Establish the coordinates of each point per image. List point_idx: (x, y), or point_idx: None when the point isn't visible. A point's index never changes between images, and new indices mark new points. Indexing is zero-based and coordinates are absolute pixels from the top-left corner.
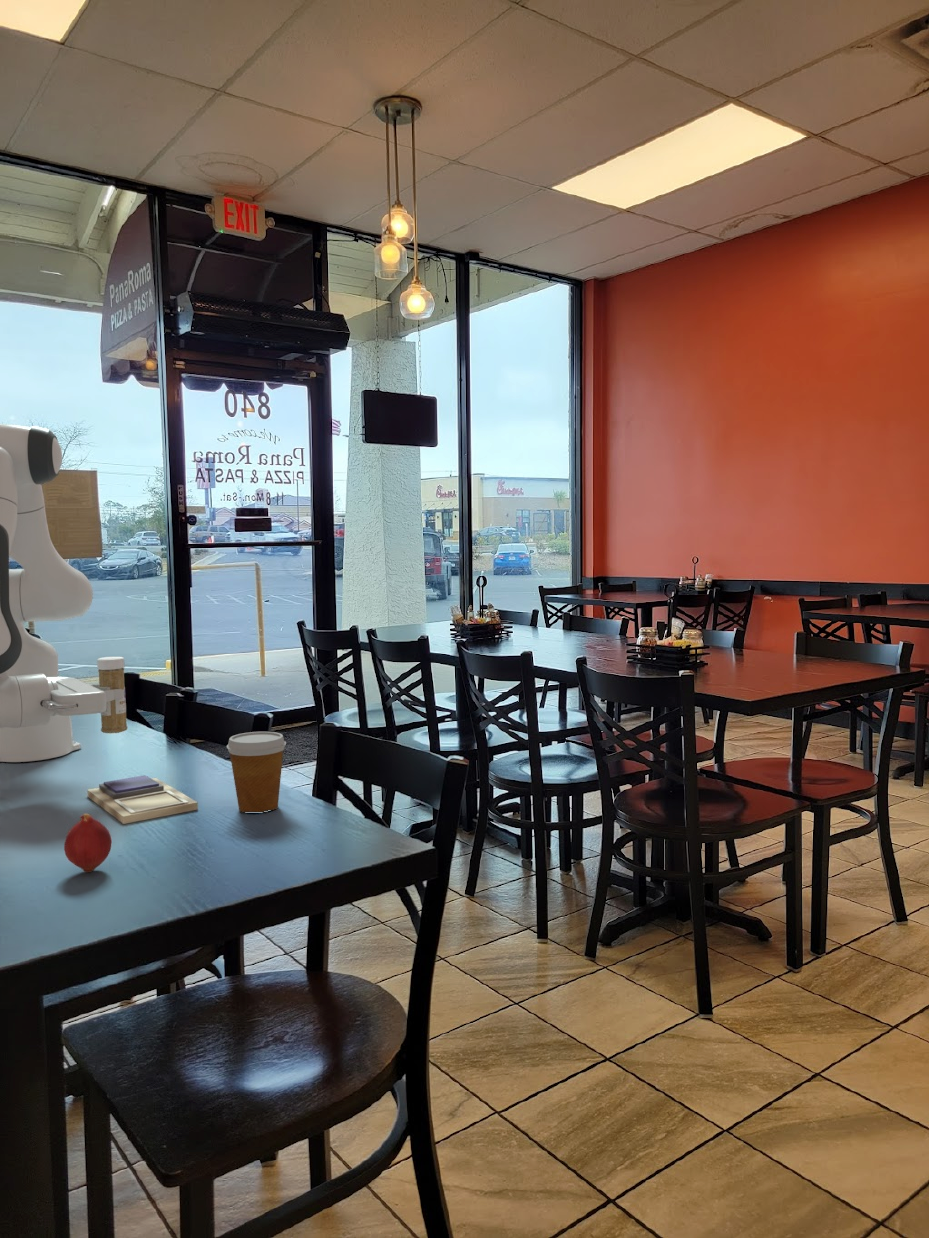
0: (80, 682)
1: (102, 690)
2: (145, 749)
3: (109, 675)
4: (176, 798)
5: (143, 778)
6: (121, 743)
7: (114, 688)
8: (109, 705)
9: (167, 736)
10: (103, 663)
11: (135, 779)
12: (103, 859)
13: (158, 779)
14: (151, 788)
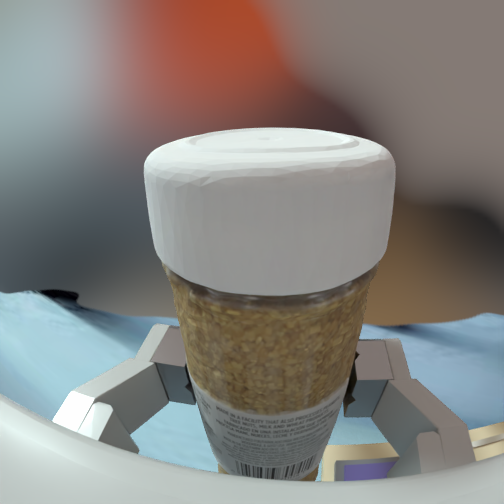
0: (92, 480)
1: (441, 437)
2: (67, 345)
3: (363, 304)
4: (495, 441)
5: (373, 474)
6: (14, 341)
7: (358, 362)
8: (325, 444)
9: (51, 298)
10: (367, 209)
11: None
12: None
13: (341, 445)
14: None
